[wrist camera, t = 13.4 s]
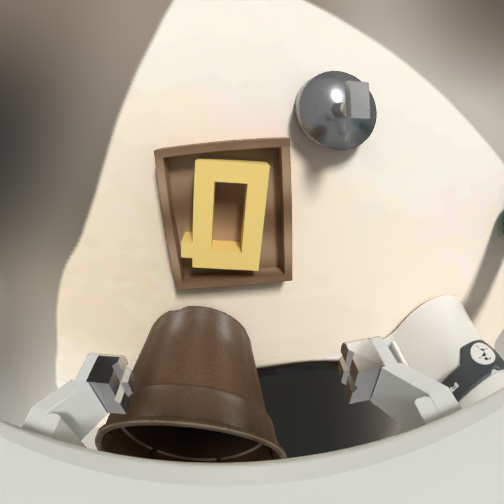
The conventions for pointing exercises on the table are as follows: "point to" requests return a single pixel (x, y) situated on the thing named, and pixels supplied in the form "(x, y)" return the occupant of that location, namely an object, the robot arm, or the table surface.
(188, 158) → the tray
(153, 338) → the plant pot
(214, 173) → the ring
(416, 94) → the table surface
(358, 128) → the silver knob
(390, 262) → the table surface
